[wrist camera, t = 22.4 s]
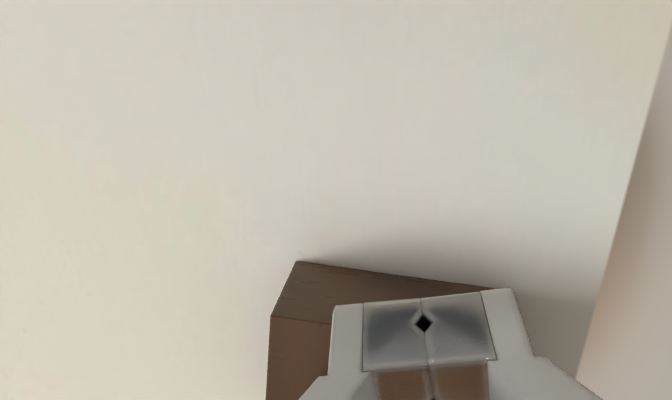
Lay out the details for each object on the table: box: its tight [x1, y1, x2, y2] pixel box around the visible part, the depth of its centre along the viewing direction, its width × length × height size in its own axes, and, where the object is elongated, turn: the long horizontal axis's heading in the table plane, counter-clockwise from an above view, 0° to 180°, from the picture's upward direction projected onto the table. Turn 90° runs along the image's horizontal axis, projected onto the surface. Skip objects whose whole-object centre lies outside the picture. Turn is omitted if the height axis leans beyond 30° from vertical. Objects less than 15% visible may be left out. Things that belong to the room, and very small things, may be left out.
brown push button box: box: [266, 261, 514, 400], centre depth 30 cm, size 12×10×8 cm
